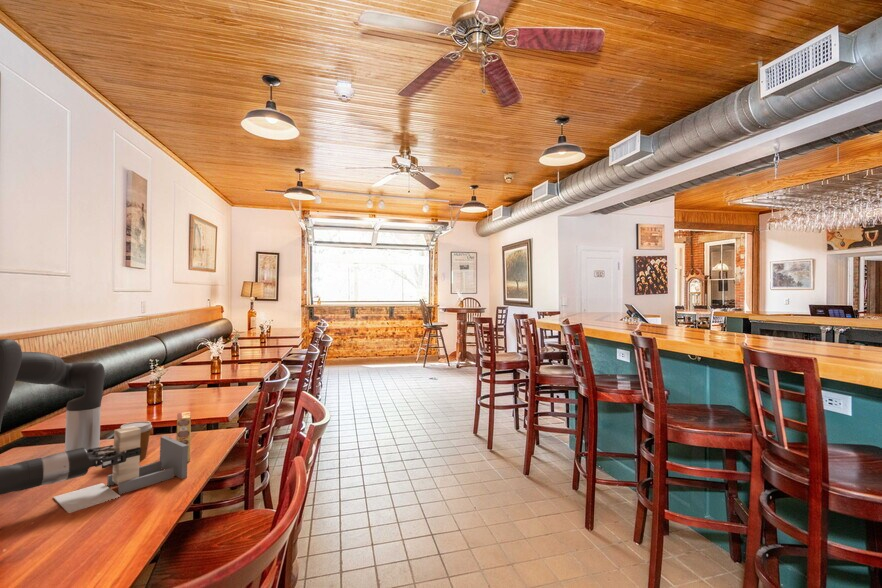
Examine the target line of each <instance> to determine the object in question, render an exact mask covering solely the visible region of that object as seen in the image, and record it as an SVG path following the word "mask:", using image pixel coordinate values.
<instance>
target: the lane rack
mask: <svg viewBox="0 0 882 588" xmlns="http://www.w3.org/2000/svg"><path fill="white" fill-rule="evenodd" d="M159 441H160V443H159V446H160V448H159V461H158V460H157V461H156V462H151V463H148V464H144V465H139V477H138V478H134V479H131V480H127V481H124V482H120V483H119V485H118V493H119V495H123V494H126V493H129V492H132V491H135V490H139V489H142V488H145V487H149V486H152V485H155V484H158V483H161V481H162V482H164V481H168V480H171V479H174V478H175V477H177V478H179V479H181V480H183V479H186V478H188V461H187V459H188V445H186V444H184V443H181V442H179V441H177V440H176V439H174V438H171V437H170V436H168V435H163V436H160V440H159ZM162 468H163V469H162ZM164 469H165V470H164ZM112 474H113V473H111V474H108V475H107V479H106V480H107V481H106V482H107V483H106V486H107V485H108V487H111V486H114V484H115V485H117V484H116V483H115V482H113V481H112ZM110 485H111V486H110ZM125 492H126V493H125ZM118 493H117V494H118ZM122 493H123V494H122Z"/></svg>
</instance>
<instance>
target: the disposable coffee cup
mask: <svg viewBox="0 0 882 588" xmlns="http://www.w3.org/2000/svg"><path fill="white" fill-rule="evenodd" d="M132 426H135V427H138V428H140V429H141V438H140V448H141V454H140V461H142V460H144V459H146V458H145V457H147V453H148V448H149V447H148V446H149V440H150V434H151V430H152V428H153V425H152V422H151V421H149V420H140V421H132V422H128V423H124V424H122V425H120V426H119V429H121V428H127V427H132Z"/></svg>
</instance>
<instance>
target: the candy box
mask: <svg viewBox="0 0 882 588" xmlns="http://www.w3.org/2000/svg"><path fill="white" fill-rule="evenodd" d="M176 414H177V417H176V439H175V440H177V441H179V442H181V443H184V444H186V445H188V459H187V462H190V461H191V442H192V441H191V440H192V439H191V437H192V436H191V433H192V426H191V425H192V421H191V420H192V419H191V418H192V417H191V416H192V415H191V411H187V412H186V411H184V412H178V413H176Z"/></svg>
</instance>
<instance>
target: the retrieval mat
mask: <svg viewBox="0 0 882 588" xmlns="http://www.w3.org/2000/svg"><path fill="white" fill-rule="evenodd" d="M118 497H119V498H121V494H118V493H117V492H116V491H114V490H113V489H112V488H111V487H110V486H107V484H105V483H103V482H102V483H97V484H94V485H90V486H87V487H83V488H80V489H77V490H73V491H69V492H65V493H63V494H58V495H55V496H53V498H52V499H54V500H55V502H57V504H59V506H61V507H62V508H63V509H64V511H66V512H67V513H68V514H71V513H74V512H77V511H81V510H83V509H86V508H89V507H90V508H91V507H93V506H96V505H99V504H102V503H106V502H109V501H112V500H111V499H113V500H115V498H116V499H118ZM108 500H109V501H108ZM105 501H106V502H105Z"/></svg>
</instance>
